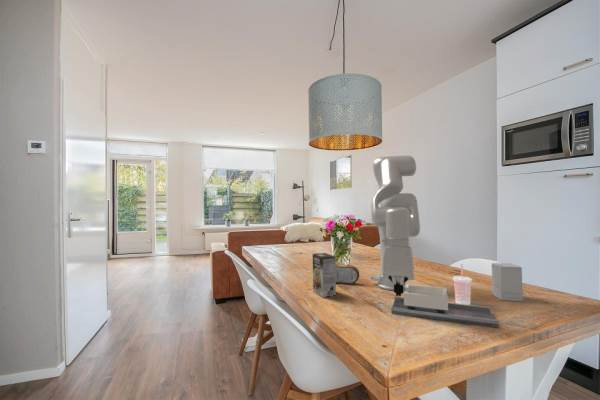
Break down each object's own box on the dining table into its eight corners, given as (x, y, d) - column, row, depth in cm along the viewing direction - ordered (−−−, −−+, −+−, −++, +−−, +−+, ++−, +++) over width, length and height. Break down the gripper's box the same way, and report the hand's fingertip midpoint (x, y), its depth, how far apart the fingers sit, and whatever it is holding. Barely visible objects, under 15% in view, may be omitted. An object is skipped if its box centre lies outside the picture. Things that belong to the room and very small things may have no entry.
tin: (359, 283, 131) (359, 265, 132) (358, 285, 128) (358, 266, 129) (328, 281, 136) (327, 263, 136) (326, 282, 133) (326, 265, 134)
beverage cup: (467, 300, 106) (466, 262, 107) (476, 305, 100) (474, 266, 101) (450, 299, 107) (449, 262, 107) (457, 305, 101) (456, 266, 101)
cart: (404, 311, 94) (403, 292, 94) (406, 300, 104) (405, 284, 104) (448, 316, 88) (447, 297, 88) (446, 304, 98) (445, 287, 99)
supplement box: (523, 301, 104) (522, 267, 104) (501, 300, 105) (500, 266, 105) (512, 295, 111) (511, 263, 111) (491, 294, 112) (490, 262, 113)
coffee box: (312, 291, 120) (311, 253, 120) (325, 289, 123) (325, 252, 123) (322, 298, 112) (321, 257, 112) (336, 295, 114) (335, 255, 115)
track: (391, 313, 95) (391, 307, 95) (395, 301, 106) (394, 296, 106) (498, 327, 83) (498, 321, 83) (489, 313, 93) (489, 307, 94)
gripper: (374, 243, 100) (375, 295, 99) (420, 245, 93) (421, 301, 93) (377, 240, 106) (378, 289, 106) (420, 242, 100) (422, 294, 100)
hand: (398, 295), depth 100 cm, fingers closed
